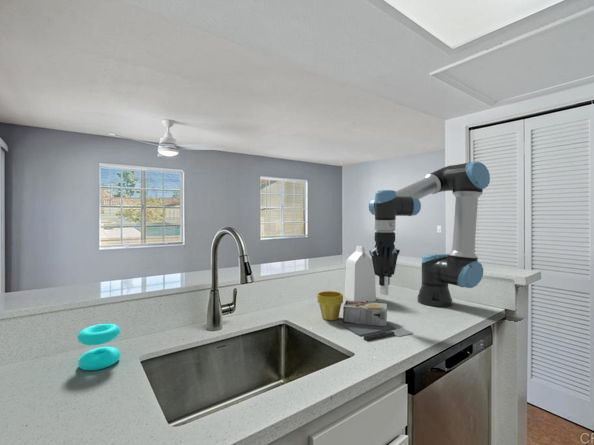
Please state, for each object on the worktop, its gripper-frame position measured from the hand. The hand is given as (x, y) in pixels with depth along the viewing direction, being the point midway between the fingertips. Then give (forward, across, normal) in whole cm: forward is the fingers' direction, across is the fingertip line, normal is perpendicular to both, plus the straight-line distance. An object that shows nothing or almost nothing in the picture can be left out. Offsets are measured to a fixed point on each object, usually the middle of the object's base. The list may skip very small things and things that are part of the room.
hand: (384, 293), depth 119 cm
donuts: (+12, -93, +10) cm, 94 cm away
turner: (+12, -5, -8) cm, 15 cm away
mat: (+12, -7, +2) cm, 14 cm away
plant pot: (+12, -14, +16) cm, 24 cm away
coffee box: (+8, +2, 0) cm, 8 cm away
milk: (+12, +15, +35) cm, 40 cm away
